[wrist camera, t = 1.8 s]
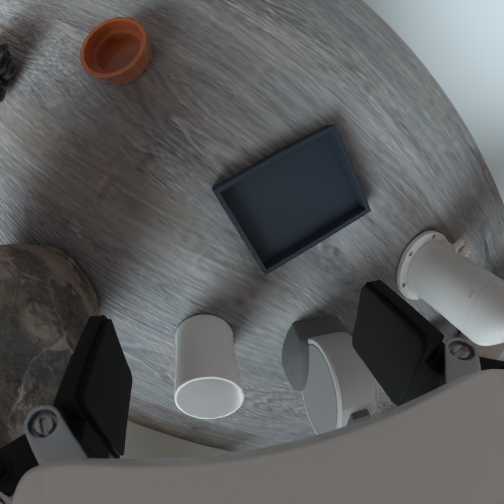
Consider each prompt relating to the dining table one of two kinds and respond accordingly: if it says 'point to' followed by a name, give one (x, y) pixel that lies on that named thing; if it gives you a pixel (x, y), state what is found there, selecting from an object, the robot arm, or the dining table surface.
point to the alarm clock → (328, 374)
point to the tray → (294, 198)
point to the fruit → (5, 69)
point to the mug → (206, 368)
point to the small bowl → (117, 51)
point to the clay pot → (37, 327)
